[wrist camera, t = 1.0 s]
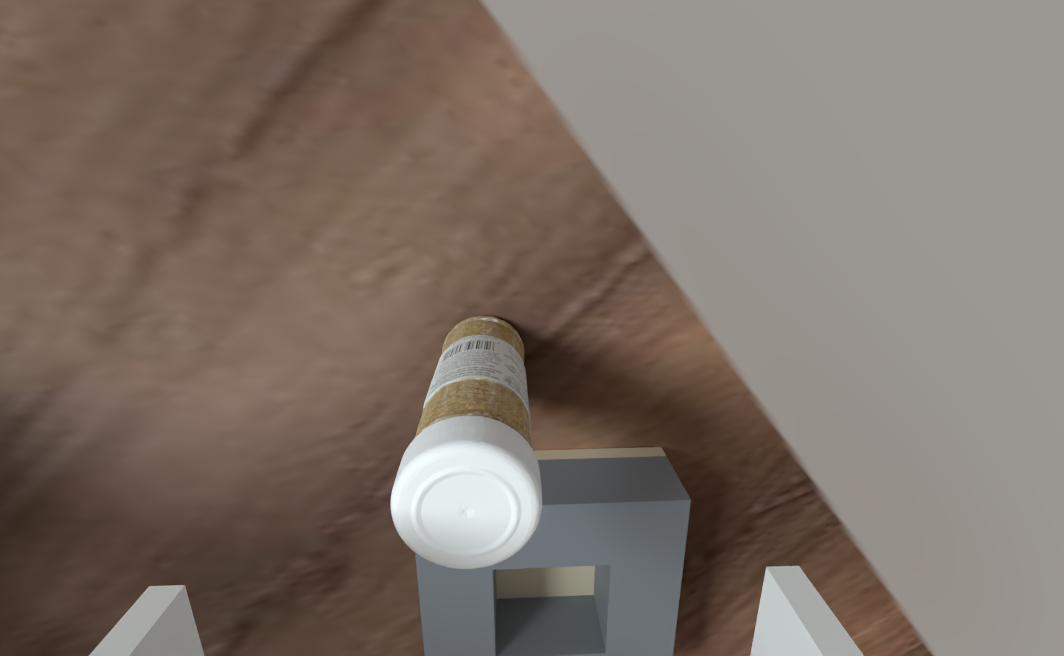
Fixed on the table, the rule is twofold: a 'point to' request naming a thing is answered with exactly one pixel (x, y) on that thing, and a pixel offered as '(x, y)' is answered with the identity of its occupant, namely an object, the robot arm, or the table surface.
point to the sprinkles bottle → (471, 454)
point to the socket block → (574, 567)
